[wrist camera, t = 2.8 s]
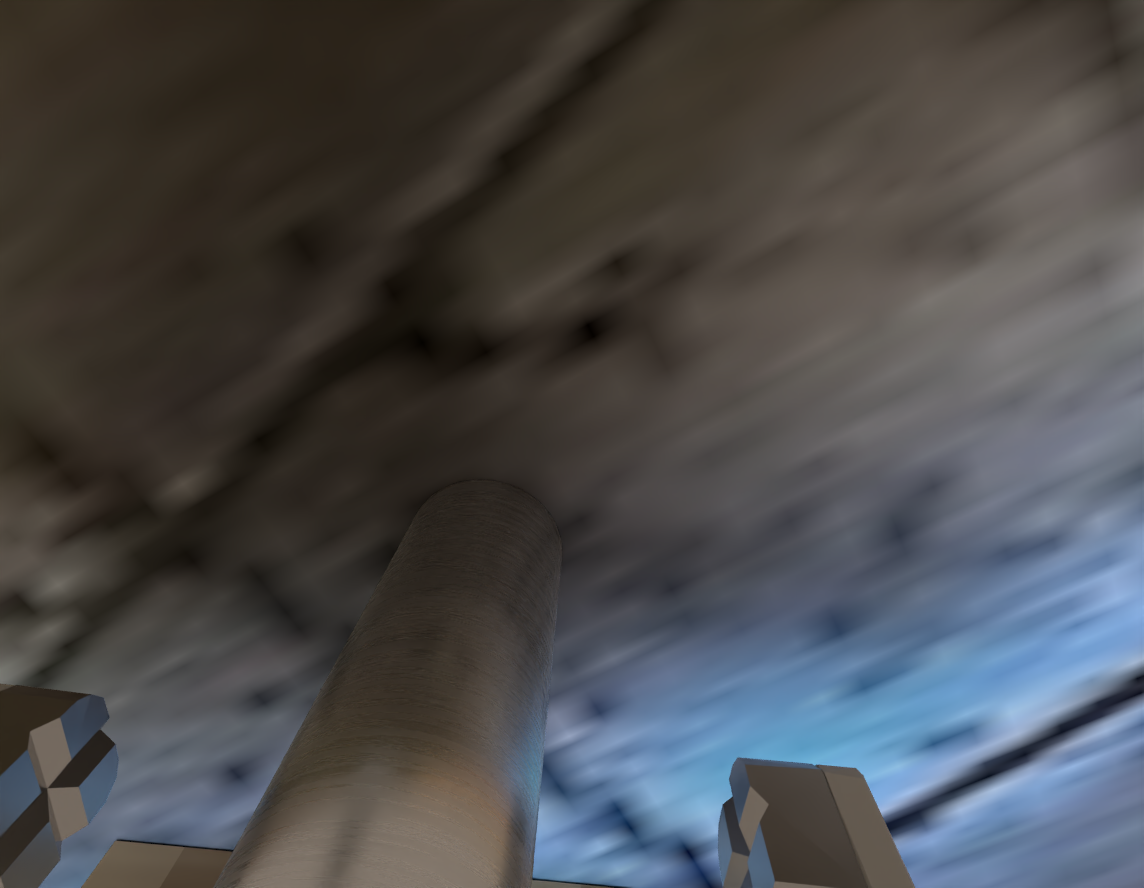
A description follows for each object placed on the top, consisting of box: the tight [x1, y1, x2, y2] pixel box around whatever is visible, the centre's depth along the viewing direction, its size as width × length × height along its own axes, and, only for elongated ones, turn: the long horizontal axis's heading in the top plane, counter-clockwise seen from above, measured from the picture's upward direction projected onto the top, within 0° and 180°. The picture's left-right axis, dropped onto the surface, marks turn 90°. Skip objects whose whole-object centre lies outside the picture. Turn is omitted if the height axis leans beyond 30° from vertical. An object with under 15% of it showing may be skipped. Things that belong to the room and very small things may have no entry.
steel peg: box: [213, 480, 562, 888], centre depth 8 cm, size 3×3×10 cm
